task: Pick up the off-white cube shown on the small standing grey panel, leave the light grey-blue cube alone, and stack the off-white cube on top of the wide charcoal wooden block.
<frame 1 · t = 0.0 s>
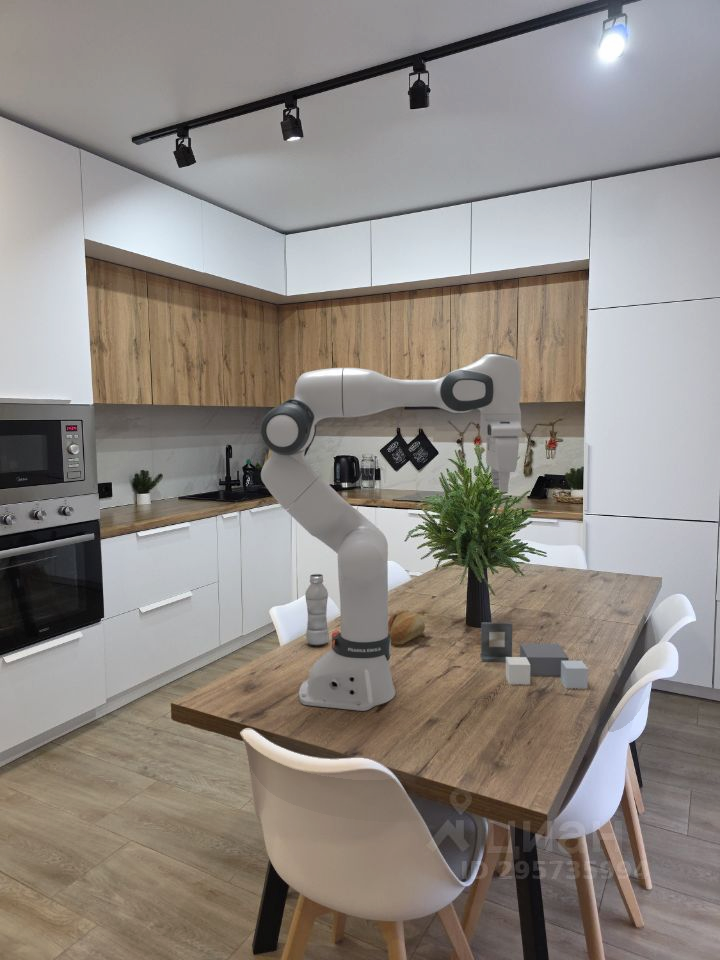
hand: (499, 489, 147), 48 cm above the table, tool pointing down, fingers open, 8 cm apart
base block: (543, 669, 167), on the table
bread roll: (405, 640, 190), on the table
ivory cube: (517, 680, 160), on the table
standing grey panel: (496, 658, 174), on the table
plastic bottle: (317, 644, 187), on the table
grey blue cube: (573, 684, 157), on the table
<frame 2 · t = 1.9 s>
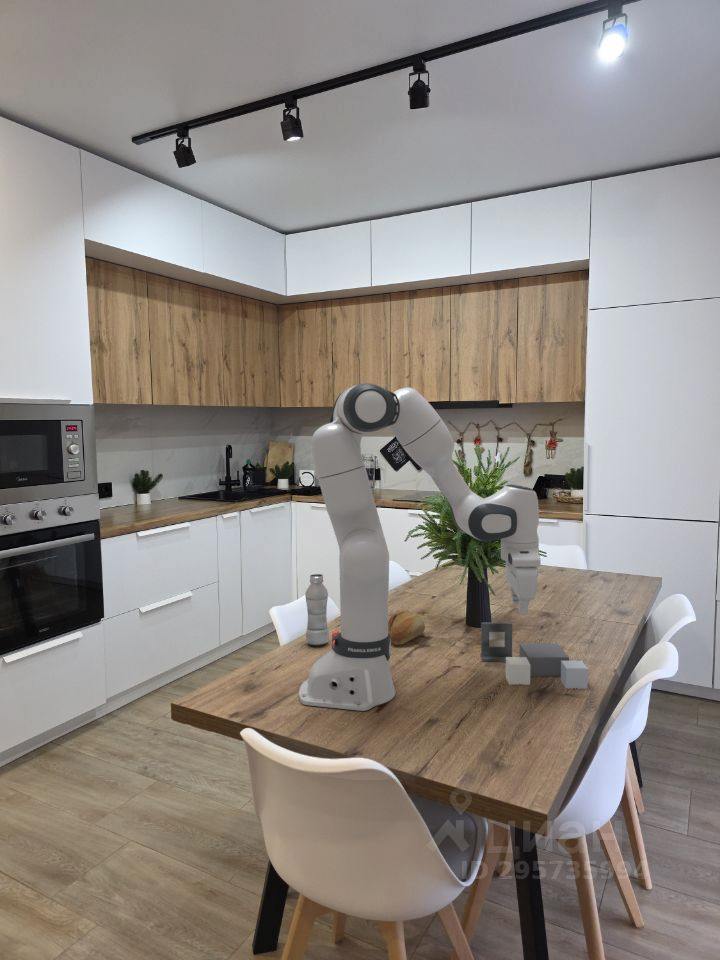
hand: (519, 608, 158), 18 cm above the table, tool pointing down, fingers open, 8 cm apart
nothing on the table moved.
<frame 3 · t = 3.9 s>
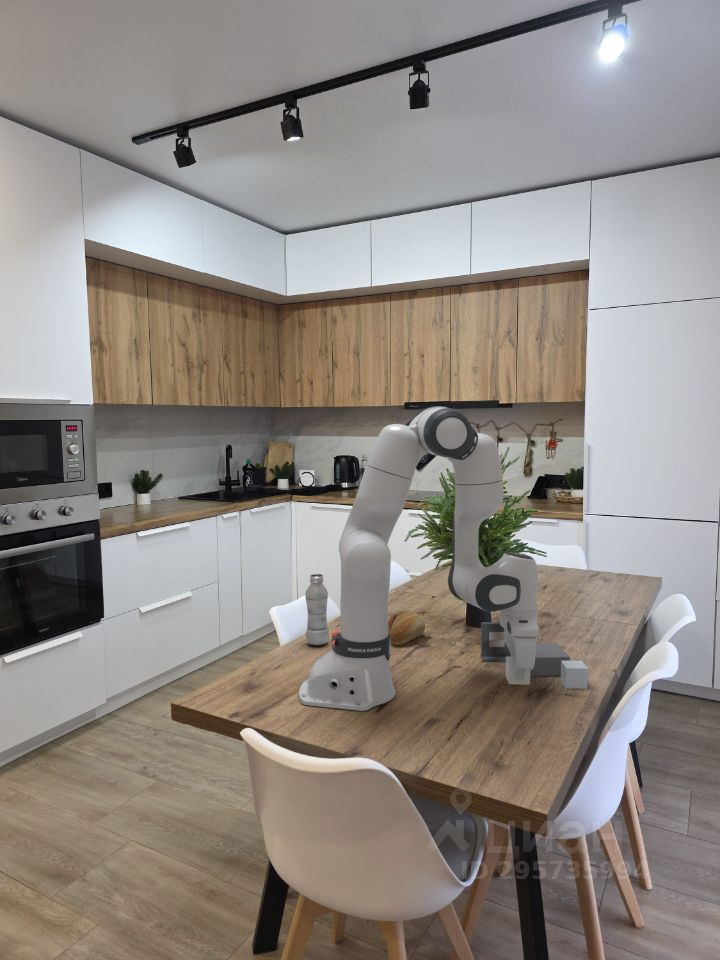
hand: (517, 673, 160), 2 cm above the table, tool pointing down, fingers closed on ivory cube, 5 cm apart
ivory cube: (517, 680, 160), on the table, touching gripper
everything else where it was.
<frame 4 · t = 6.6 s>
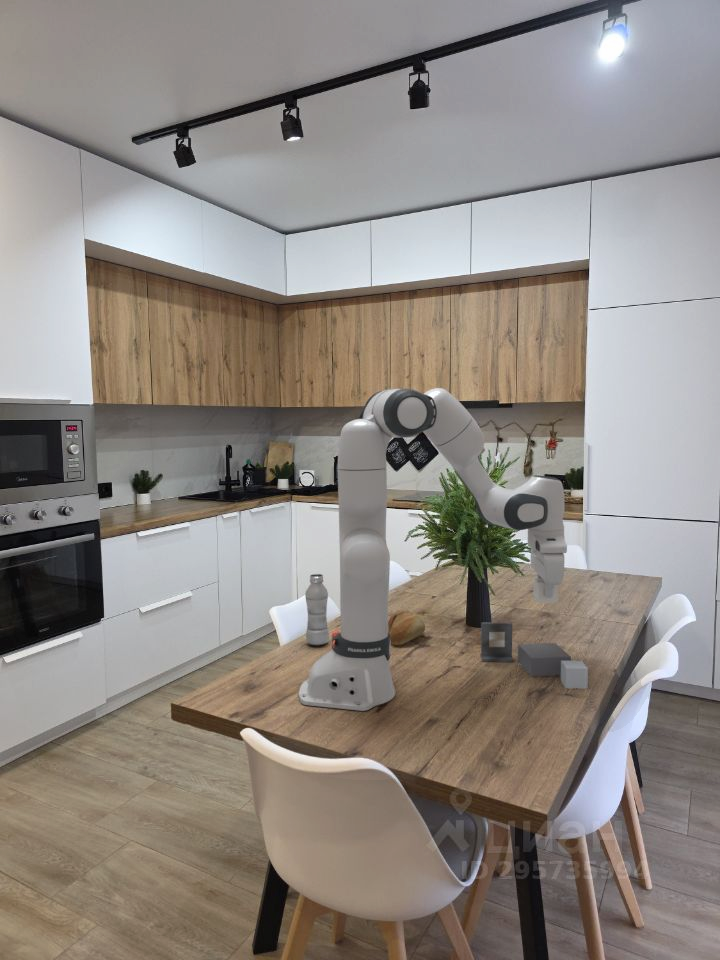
hand: (545, 593, 165), 20 cm above the table, tool pointing down, fingers closed on ivory cube, 5 cm apart
ivory cube: (545, 599, 166), point 18 cm above the table, touching gripper
everything else where it was.
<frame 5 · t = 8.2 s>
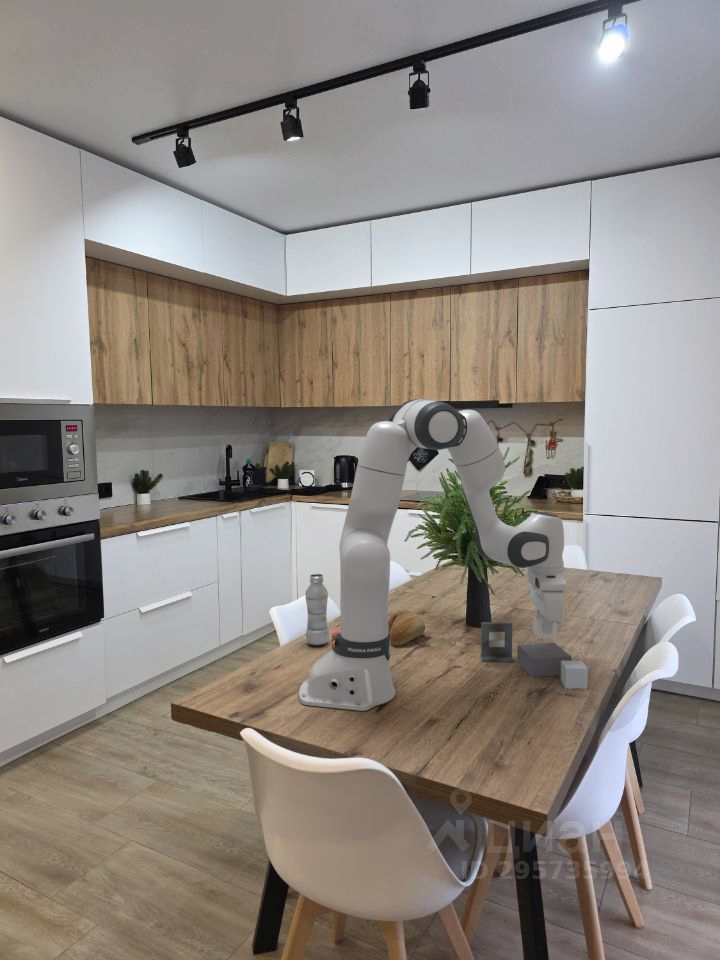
hand: (544, 628, 166), 10 cm above the table, tool pointing down, fingers closed on ivory cube, 5 cm apart
ivory cube: (544, 635, 167), point 9 cm above the table, touching gripper
everything else where it was.
when the fingers open (8 cm above the table, at t = 9.5 s): ivory cube drops 2 cm, resting on base block.
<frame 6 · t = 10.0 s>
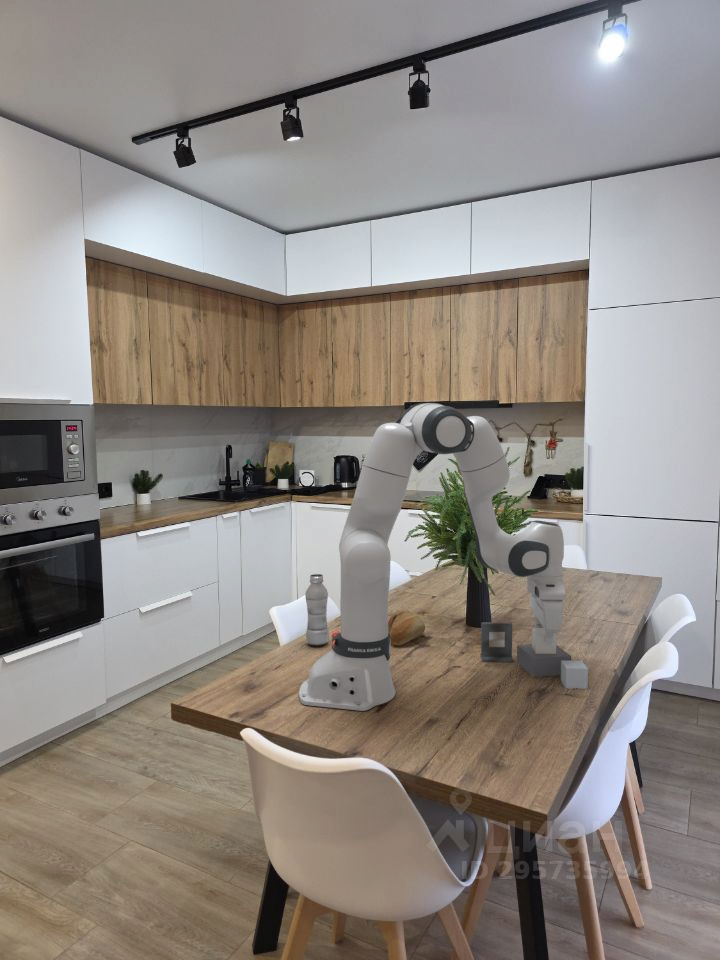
hand: (543, 637, 167), 8 cm above the table, tool pointing down, fingers open, 8 cm apart
base block: (543, 669, 167), on the table, touching ivory cube
ivory cube: (543, 650, 167), point 5 cm above the table, touching base block
everything else where it was.
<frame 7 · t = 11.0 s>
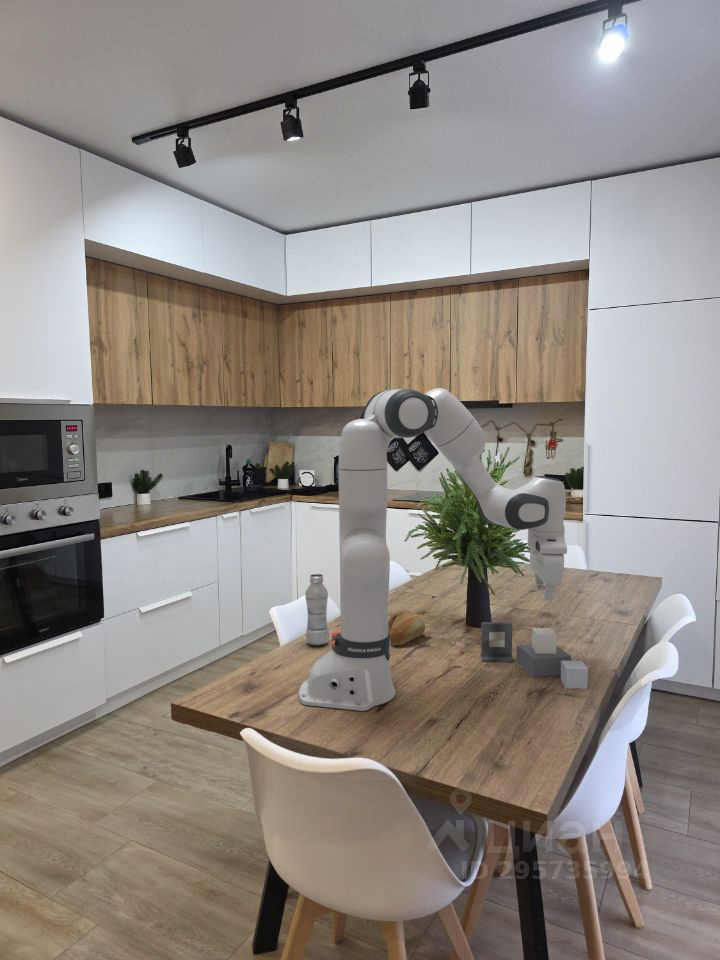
hand: (543, 594, 166), 19 cm above the table, tool pointing down, fingers open, 8 cm apart
nothing on the table moved.
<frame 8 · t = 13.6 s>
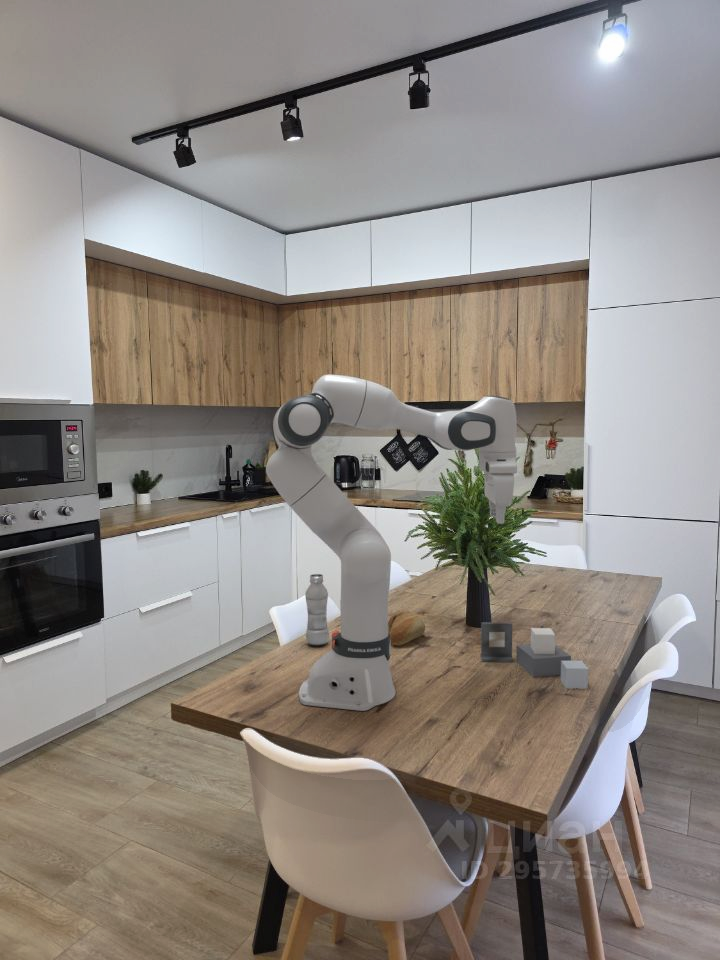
hand: (497, 520, 159), 39 cm above the table, tool pointing down, fingers open, 8 cm apart
base block: (542, 669, 168), on the table
ivory cube: (542, 650, 167), point 5 cm above the table
everything else where it was.
at the end: ivory cube 0.3 cm off-centre on the base block, point 5.0 cm above the base block's base; ivory cube tilted 1°; grey blue cube moved 0.1 cm from its start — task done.
